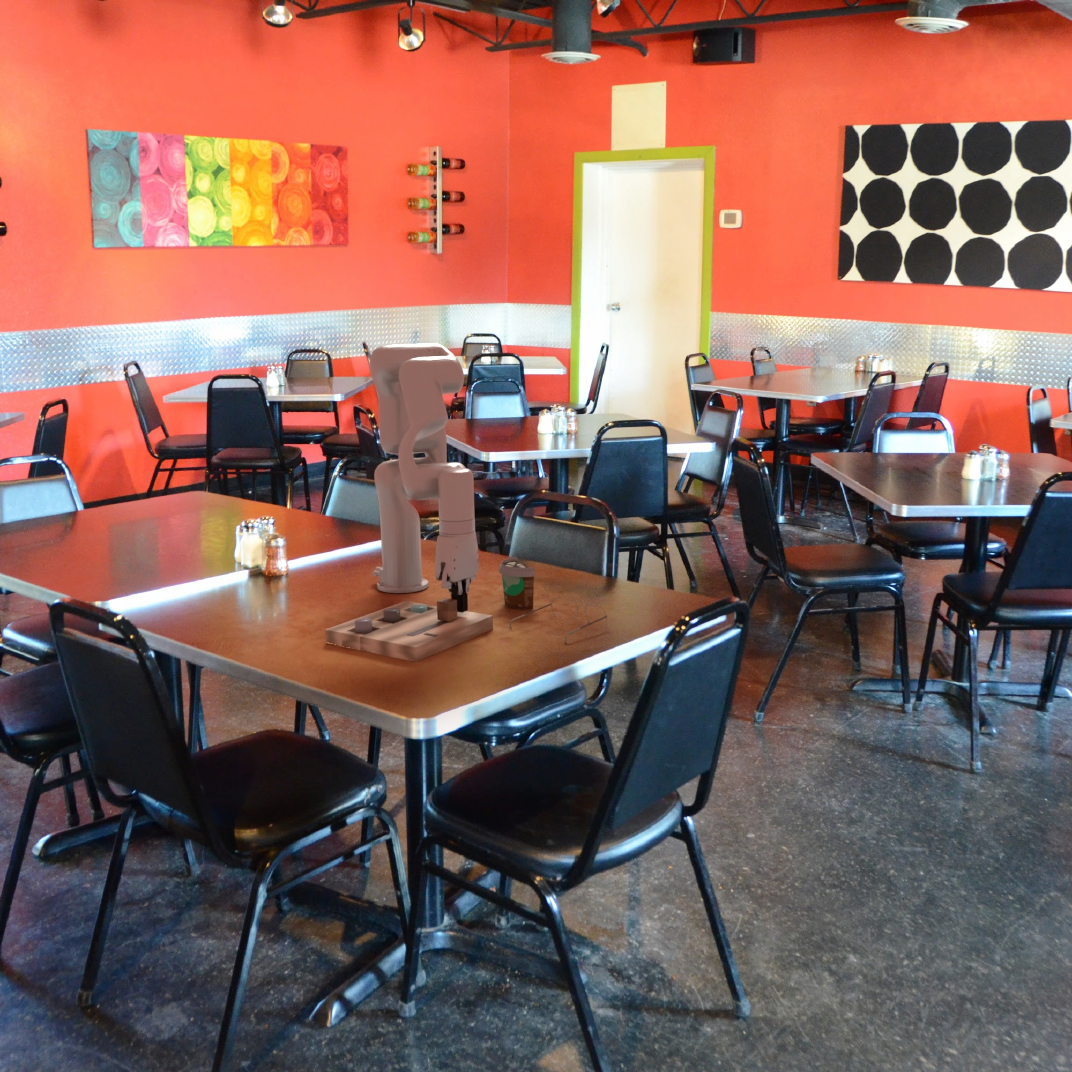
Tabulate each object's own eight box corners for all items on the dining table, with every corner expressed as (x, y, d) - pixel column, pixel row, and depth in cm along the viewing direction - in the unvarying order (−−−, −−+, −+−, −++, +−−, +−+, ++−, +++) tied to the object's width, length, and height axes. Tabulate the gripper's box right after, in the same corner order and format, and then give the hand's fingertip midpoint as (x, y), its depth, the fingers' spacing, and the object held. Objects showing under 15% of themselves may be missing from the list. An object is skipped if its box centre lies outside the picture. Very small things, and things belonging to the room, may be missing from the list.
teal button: (407, 620, 255) (407, 607, 254) (418, 617, 258) (417, 603, 257) (420, 623, 253) (420, 609, 252) (430, 619, 256) (430, 606, 255)
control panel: (326, 643, 241) (325, 629, 241) (406, 613, 262) (405, 600, 262) (416, 661, 228) (415, 646, 228) (493, 629, 249) (492, 615, 249)
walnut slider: (437, 619, 245) (436, 601, 244) (446, 616, 247) (445, 598, 247) (448, 621, 243) (448, 603, 243) (457, 618, 246) (456, 599, 245)
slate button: (351, 635, 240) (350, 621, 239) (363, 630, 243) (362, 617, 242) (364, 637, 238) (364, 623, 237) (376, 633, 241) (375, 619, 240)
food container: (492, 600, 272) (491, 558, 270) (517, 597, 275) (516, 556, 272) (509, 613, 261) (508, 570, 259) (535, 610, 263) (534, 567, 261)
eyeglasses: (611, 629, 250) (611, 606, 249) (565, 645, 239) (565, 621, 238) (555, 616, 260) (554, 594, 259) (509, 630, 249) (508, 608, 248)
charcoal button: (380, 624, 247) (379, 610, 246) (391, 620, 250) (390, 606, 249) (393, 626, 245) (392, 613, 245) (404, 622, 248) (403, 609, 247)
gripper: (463, 519, 253) (466, 600, 257) (420, 531, 241) (424, 616, 245) (492, 522, 249) (494, 605, 253) (449, 535, 237) (452, 621, 241)
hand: (459, 610), depth 249 cm, fingers closed
